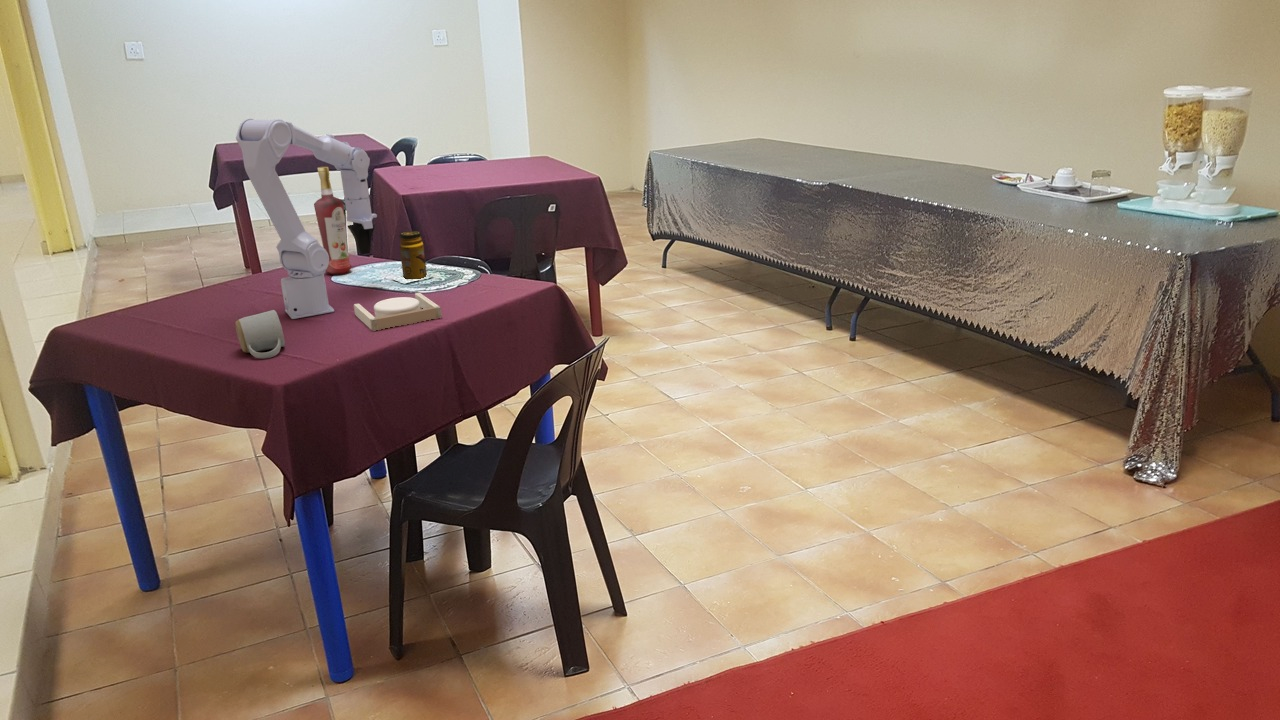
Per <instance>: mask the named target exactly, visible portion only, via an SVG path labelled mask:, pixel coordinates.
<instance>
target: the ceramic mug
mask: <svg viewBox="0 0 1280 720" xmlns="http://www.w3.org/2000/svg"><path fill="white" fill-rule="evenodd" d="M234 325H235V332H236V335H237V339H238V342H239V344H240V347H241V350H242V352H244V353H247V354H249V353H250V354H251V356H253V357H254V358H255V359H261V360H262V359H263V360H264V359H271V358H273V357H275V356H277V355H278V354H279V353H280V351H281V348H284V347H285V346H286V345H285V344H286V343H285V336H284V332H283V327H282V324H281V320H280V318H279V315H278V313H277V311H276V310H275V309H271V310H268V311H264V312H261V313H257V314H253V315H248V316H244V317H242V318H239V319H237V320H236V321H235V323H234ZM266 350H270V351H267V352H262V351H266Z"/></svg>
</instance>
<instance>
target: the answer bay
mask: <svg viewBox="0 0 1280 720" xmlns="http://www.w3.org/2000/svg"><path fill="white" fill-rule="evenodd" d="M414 298H415V299H417V300H418V301H419V302H420V305H419V306H420V310H415V311H410V312H404V313H399V314H394V315H388V316H383V317H378V318H375V315H373V314H371V312H370V311H368V310H367V309H366V308H365V307H363V305H361V304H360V303H354V304H353V309H354V315H355V316H356V317H357V318H358V319H359V320H360V321H361V322H362V323H363V324H364V325H366V327H367V328H369V330H371V331H372V332H376V330H378V331H381V329H383V330H386V329H385V328H388V329H391V328H390V327H393V328H396V327H395V326H399V327H402V326H401V325H404V326H407V324H409V325H414V324H418V323H417V322H419V323H422V322H421V321H424V322H427V321H426V320H429V321H432V320H431V319H435V320H437V319H436V318H440V317H442V318H443V314H442V307H441V306H440V305H438V304H436V303H435V302H434V301H432V300H431V299H429V298H428V297H426V296H425V295H424V294H422V293H421V292H415V293H414ZM422 308H423V309H422ZM440 319H441V318H440ZM413 323H414V324H413Z"/></svg>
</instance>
